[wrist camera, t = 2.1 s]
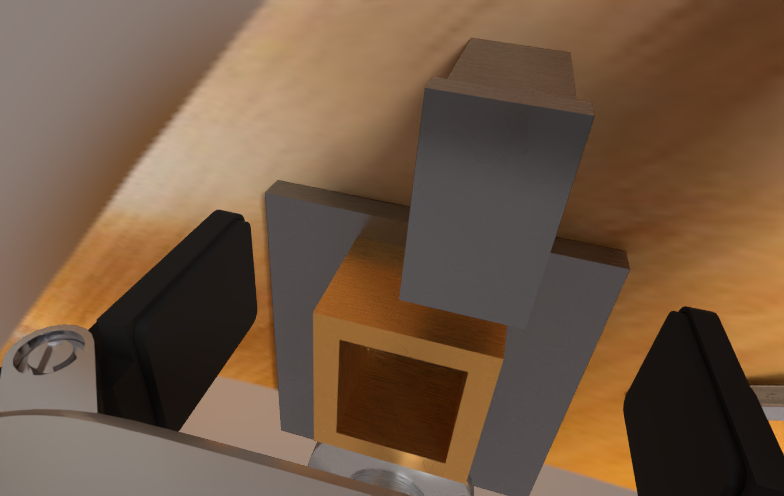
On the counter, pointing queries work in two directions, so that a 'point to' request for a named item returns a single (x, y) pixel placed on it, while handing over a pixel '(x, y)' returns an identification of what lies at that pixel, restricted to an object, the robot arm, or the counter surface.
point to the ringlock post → (420, 352)
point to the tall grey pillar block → (492, 180)
